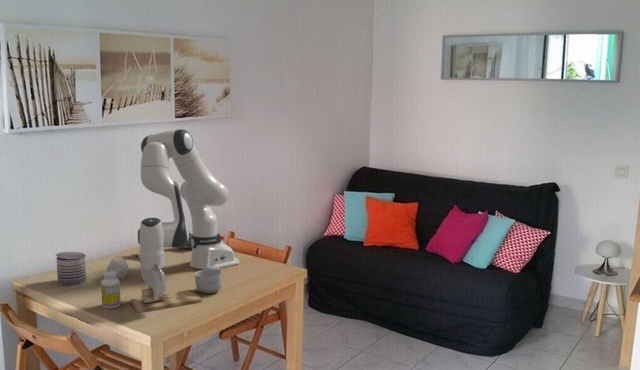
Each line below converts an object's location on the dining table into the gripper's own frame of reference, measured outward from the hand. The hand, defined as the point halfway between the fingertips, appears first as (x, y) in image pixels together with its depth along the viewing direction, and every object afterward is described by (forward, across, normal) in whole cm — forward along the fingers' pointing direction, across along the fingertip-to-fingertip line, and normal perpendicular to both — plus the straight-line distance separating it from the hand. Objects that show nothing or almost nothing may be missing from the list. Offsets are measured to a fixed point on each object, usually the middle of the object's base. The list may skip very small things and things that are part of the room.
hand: (154, 297), depth 238 cm
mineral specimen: (+3, +68, -35) cm, 77 cm away
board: (+3, 0, -4) cm, 5 cm away
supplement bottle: (+3, +6, +14) cm, 16 cm away
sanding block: (+1, 0, 0) cm, 1 cm away
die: (+3, +39, +5) cm, 39 cm away
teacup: (+3, +5, -24) cm, 25 cm away
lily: (+3, +65, -13) cm, 67 cm away
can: (+3, +42, +23) cm, 48 cm away
